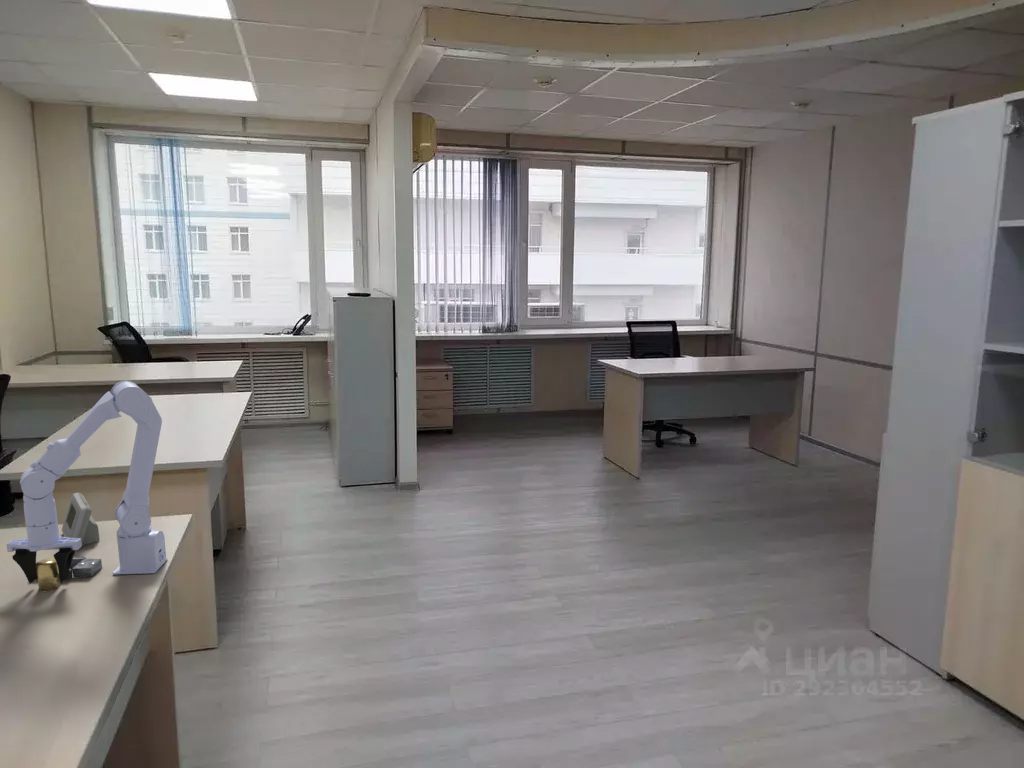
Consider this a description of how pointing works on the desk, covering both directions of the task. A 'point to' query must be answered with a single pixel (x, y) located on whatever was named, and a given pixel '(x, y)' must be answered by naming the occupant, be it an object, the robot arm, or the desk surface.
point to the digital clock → (80, 521)
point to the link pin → (47, 574)
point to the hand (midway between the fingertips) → (48, 580)
